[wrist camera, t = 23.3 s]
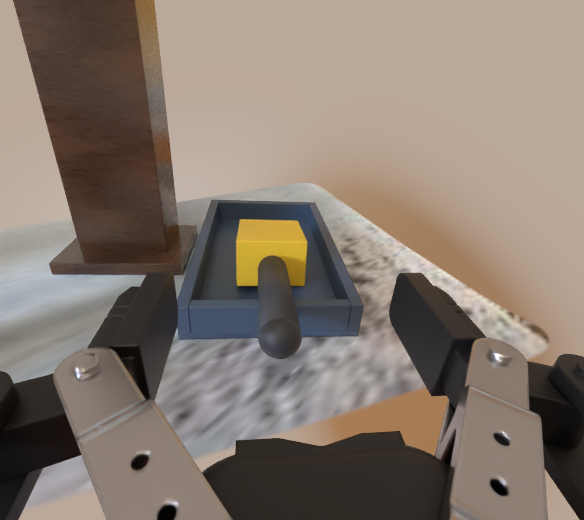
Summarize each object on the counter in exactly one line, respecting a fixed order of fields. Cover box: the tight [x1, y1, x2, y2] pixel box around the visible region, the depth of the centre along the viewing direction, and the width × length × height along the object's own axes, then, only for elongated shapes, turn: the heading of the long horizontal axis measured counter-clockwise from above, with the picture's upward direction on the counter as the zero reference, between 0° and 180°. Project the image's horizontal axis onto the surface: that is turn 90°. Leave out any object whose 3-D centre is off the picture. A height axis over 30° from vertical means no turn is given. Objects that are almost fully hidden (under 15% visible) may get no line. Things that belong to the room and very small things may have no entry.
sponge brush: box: [236, 219, 308, 359], centre depth 22 cm, size 5×16×4 cm, turn 5°
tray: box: [177, 200, 364, 339], centre depth 30 cm, size 12×20×2 cm, turn 5°
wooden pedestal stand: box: [13, 0, 197, 274], centre depth 23 cm, size 10×8×32 cm
